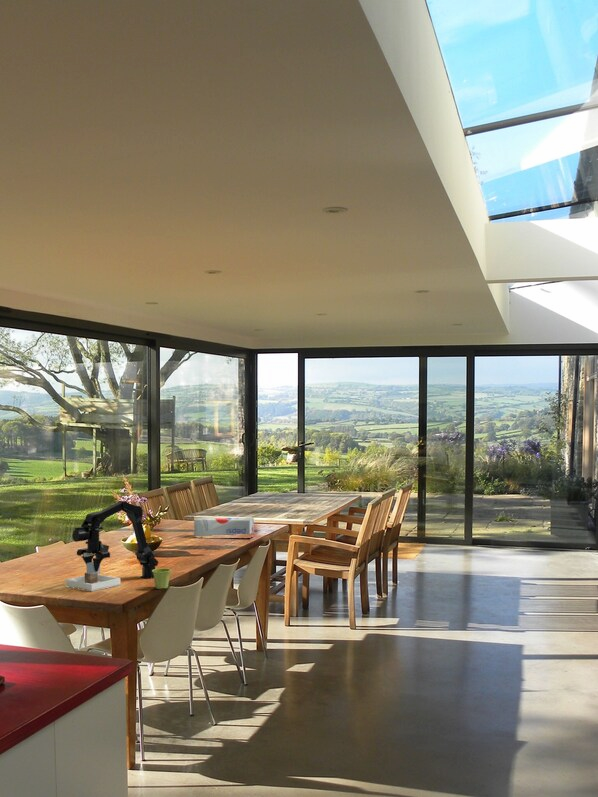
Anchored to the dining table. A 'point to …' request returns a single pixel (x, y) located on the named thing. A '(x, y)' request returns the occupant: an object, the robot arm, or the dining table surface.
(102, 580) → the grey tray
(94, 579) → the walnut block
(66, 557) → the dining table surface
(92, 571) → the slate block
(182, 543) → the dining table surface
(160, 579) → the plant pot
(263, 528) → the dining table surface
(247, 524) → the soda pack
